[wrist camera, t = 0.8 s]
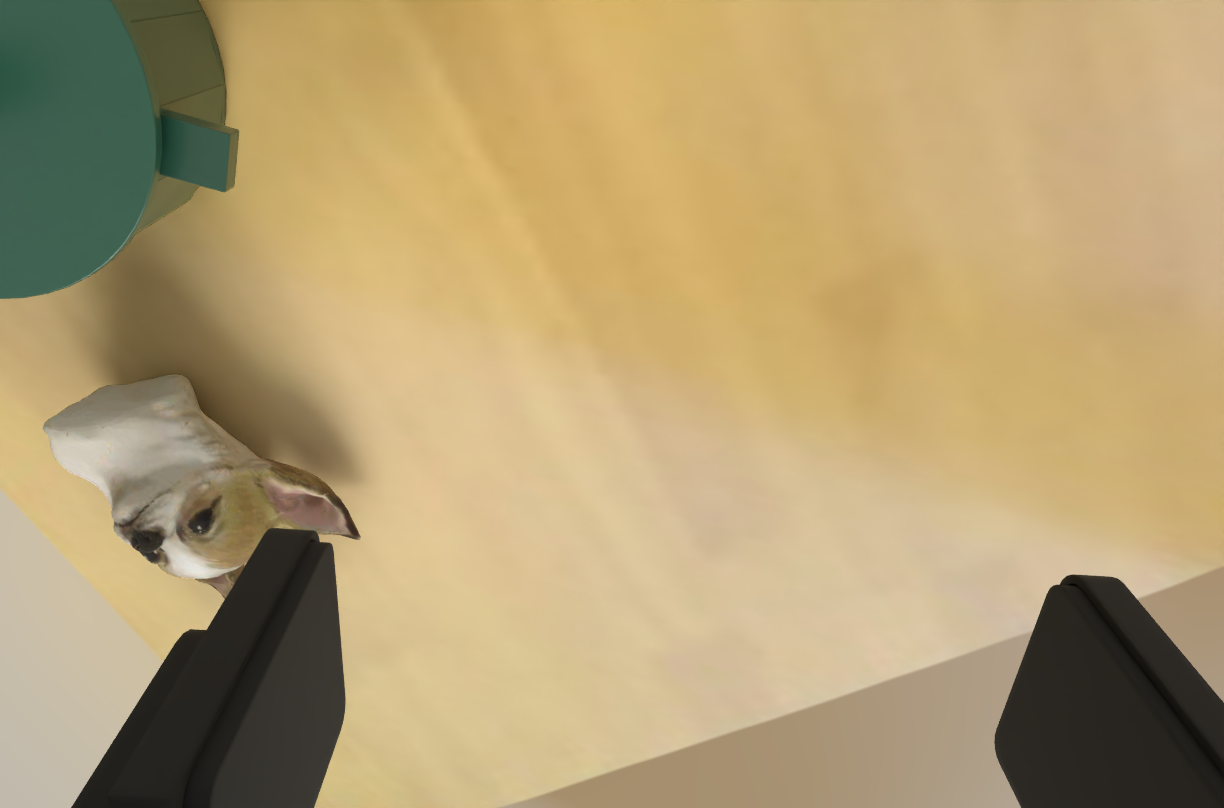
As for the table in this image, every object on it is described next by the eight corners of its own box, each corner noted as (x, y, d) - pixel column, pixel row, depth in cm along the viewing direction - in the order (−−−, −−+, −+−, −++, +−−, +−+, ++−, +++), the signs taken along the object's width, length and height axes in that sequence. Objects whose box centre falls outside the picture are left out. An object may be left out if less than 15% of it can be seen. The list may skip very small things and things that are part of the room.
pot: (-215, -205, 35) (-410, -241, 28) (304, -44, 38) (238, -42, 31) (-170, 165, 42) (-319, 207, 35) (268, 281, 44) (206, 340, 38)
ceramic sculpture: (108, 387, 37) (344, 607, 44) (189, 302, 44) (380, 501, 51) (-56, 497, 40) (189, 688, 46) (46, 400, 47) (245, 577, 54)
